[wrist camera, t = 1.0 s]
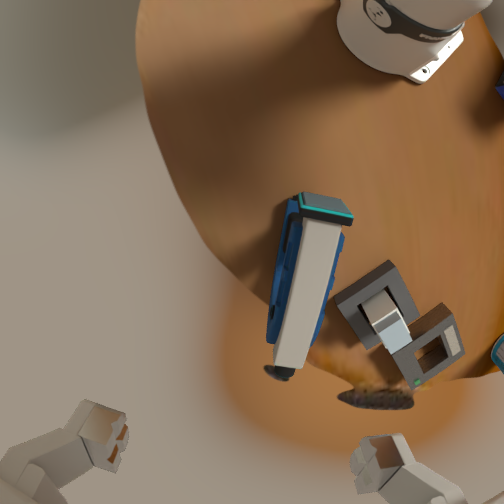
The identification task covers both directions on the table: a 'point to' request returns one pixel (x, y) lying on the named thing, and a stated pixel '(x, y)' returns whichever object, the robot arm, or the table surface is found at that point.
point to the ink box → (500, 85)
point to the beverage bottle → (498, 353)
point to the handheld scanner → (304, 276)
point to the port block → (439, 358)
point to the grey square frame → (366, 289)
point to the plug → (387, 321)
